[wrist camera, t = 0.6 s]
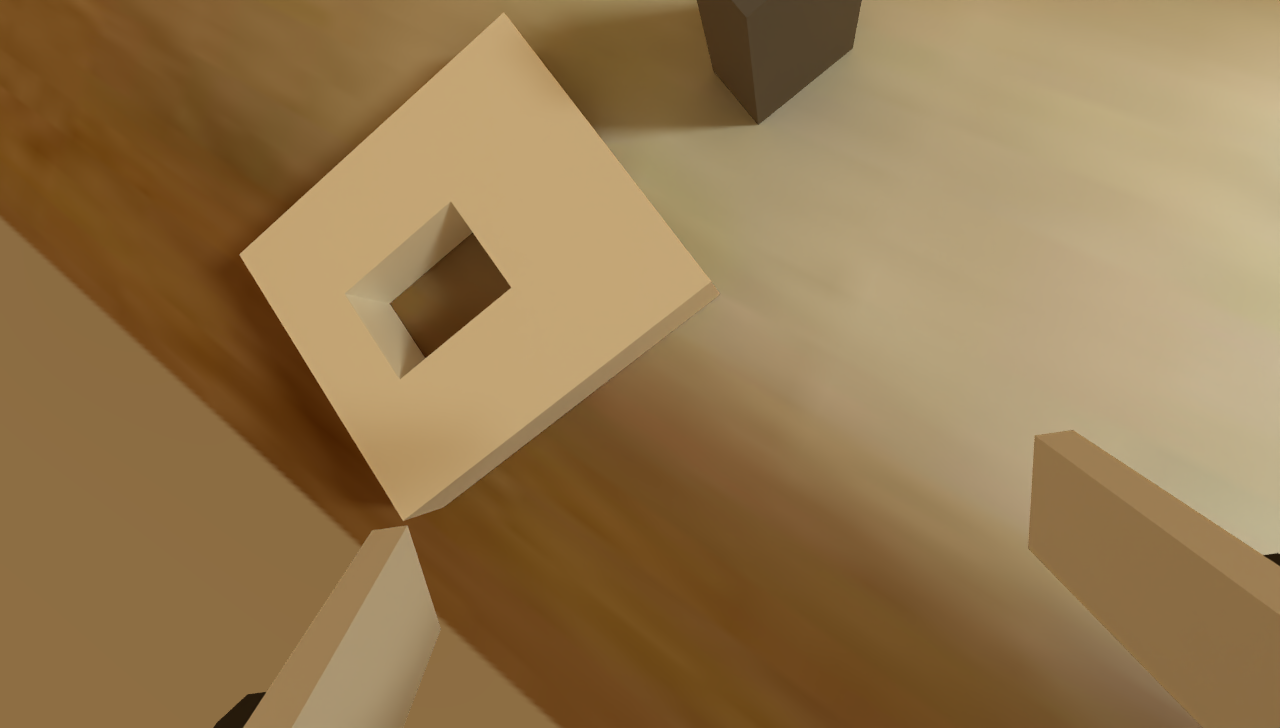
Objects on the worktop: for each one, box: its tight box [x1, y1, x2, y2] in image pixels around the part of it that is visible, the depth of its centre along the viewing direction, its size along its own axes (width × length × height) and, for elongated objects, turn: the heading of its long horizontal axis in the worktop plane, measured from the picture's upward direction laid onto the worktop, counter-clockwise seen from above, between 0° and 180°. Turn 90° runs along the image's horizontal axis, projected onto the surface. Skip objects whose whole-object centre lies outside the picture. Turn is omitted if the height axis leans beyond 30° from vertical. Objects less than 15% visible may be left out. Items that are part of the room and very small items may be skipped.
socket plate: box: [239, 13, 720, 521], centre depth 35 cm, size 18×20×4 cm
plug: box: [697, 0, 862, 125], centre depth 29 cm, size 4×6×10 cm, turn 126°
